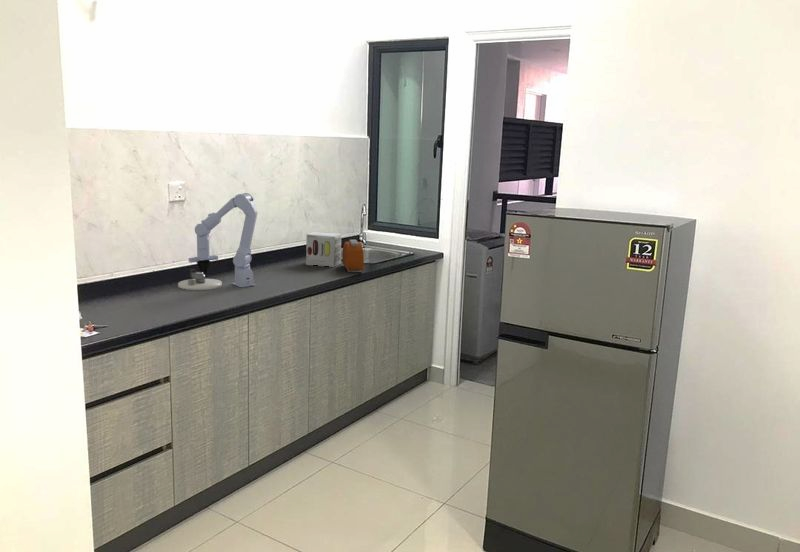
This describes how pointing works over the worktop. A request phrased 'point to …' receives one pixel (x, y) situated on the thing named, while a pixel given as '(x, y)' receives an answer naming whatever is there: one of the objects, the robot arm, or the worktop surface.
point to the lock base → (200, 284)
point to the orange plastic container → (353, 256)
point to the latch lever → (197, 276)
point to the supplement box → (323, 249)
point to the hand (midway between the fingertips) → (203, 275)
